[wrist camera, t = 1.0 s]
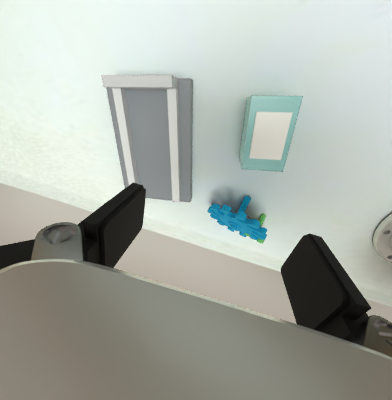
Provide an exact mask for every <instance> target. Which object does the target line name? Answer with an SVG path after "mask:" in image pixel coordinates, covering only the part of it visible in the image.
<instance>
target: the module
mask: <svg viewBox="0 0 392 400" xmlns="http://www.w3.org/2000/svg"><path fill="white" fill-rule="evenodd" d="M302 97H303V96H250V97H248V98H247V104H246V111H245V118H244V126H243V133H242V141H241V148H240V156H239V159H240V164H241V169H250V170H265V171H279V172H283V170H284V166H285V162H286V159H287V155H288V151H289V147H290V143H291V139H292V136H293V132H294V128H295V124H296V120H297V116H298V113H299V109H300V105H301V101H302Z"/></svg>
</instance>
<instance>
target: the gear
mask: <svg viewBox="0 0 392 400" xmlns="http://www.w3.org/2000/svg"><path fill="white" fill-rule="evenodd" d="M250 200H251V198H250V197H248V196H245V198H244V200H243V202H242V204H241V206H240V208H239V210H238V211H236V212H235V213H232V212H230V211H231V209H232V208H231V207H229V206H227V205H223V207H222V208H221V209H220V206H219V205H218V204H212V206H210V207H209V209H208V212H209V213H211V215H210V216H211V217H212V218H214V219H217V220H218V221H217V222H218V223H219V224H221V225H226V226H228V229H229V230H231V231H233V232H234V230H236V231H240V233H239V234H240V235H242V236H244V237H246V236H249V237H250V238H252V239H255V240H257V241H258V242H260V243H263V242H264V240H265V238H266V236H267V235H266V232H267V229H265V228H263V227H261V226H262V224H263V221H264V219H265V217H266V216H265V215H263V214H262V215H261V217H260V219H259V221H258V220H256V219H250V218H249V217H248V216H247V214H246V213H244V212H245V210H246V208H247V206H248V204H249V202H250Z"/></svg>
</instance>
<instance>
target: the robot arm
mask: <svg viewBox="0 0 392 400" xmlns="http://www.w3.org/2000/svg"><path fill="white" fill-rule="evenodd" d="M145 196H146V189H145V188H144V187H143V185H140V184H137V183H132V184H130V185H129V186H128V187H126V188H125V189H124V190H122V191H121V192H120V193H119V194H117V195H116V196H115V197H113V198H112V199H111V200H109V201H108V202H106V203H105V204H104V205H102V206H101V207H100V208H99V209H97V210H96V211H95V212H93V213H92V214H91V215H90V216H88V217H87V218H86V219H84V220H83V221H82V222H81V223H79V224H78V225H76V224H73V223H69V222H61V223H55V224H52V225H49V226H46V227H45V228H43V229H41V230H40V231H39V232H38V233H37V236H36V238H35V239H34V240H29V241H24V242H18V243H13V244H8V245H3V246H0V400H392V323H391V322H389V321H388V320H386V319H384V318H382V317H380V316H376V315H372V316H369V317H368V315H367V314H366V312H367V311H368V310H370V309H371V307H370V306H369V304H368V303H367V301H366V300H365V298H364V297H363V296H362V294H361V293H360V291H359V290H358V288H357V287H356V286H355V284H354V283H353V281H352V280H351V279H350V277H349V276H348V274H347V273H346V271H345V270H344V269H343V267H342V266H341V264H340V263H339V261H338V260H337V259H336V257H335V256H334V254H333V253H332V252H331V250H330V249H329V247H328V246H327V244H326V243H325V242H324V240H323V239H322V238H321V237H319V236H316V235H313V234H307V235H304V236H303V237H302V238H301V240H300V241H299V243H298V244H297V246H296V247H295V248H294V250H293V251H292V253H291V254H290V255H289V257H288V258H287V260H286V261H285V263H284V264H283V265H282V267H281V274H282V277H283V281H284V284H285V287H286V290H287V293H288V296H289V300H290V303H291V306H292V309H293V313H294V316H295V319H296V323H297V324H294V323H291V322H288V321H284V320H281V319H278V318H275V317H272V316H269V315H265V314H262V313H259V312H256V311H253V310H249V309H246V308H243V307H240V306H236V305H234V304H230V303H227V302H224V301H221V300H218V299H214V298H211V297H208V296H205V295H201V294H198V293H195V292H192V291H188V290H185V289H182V288H178V287H175V286H172V285H168V284H165V283H162V282H158V281H155V280H152V279H149V278H146V277H142V276H139V275H135V274H132V273H128V272H125V271H121V270H118V269H114V268H113V267H114V266H115V265H116V263H117V262H118V261H119V259H120V258H121V256H122V255H123V254H124V252H125V251H126V250H127V248H128V246H129V245H130V244H131V243H132V241H133V240H134V239H135V237H136V236H137V234H138V233H139V232H140V230H141V228H142V225H143V216H144V206H145ZM373 244H374V247H375V249H376V251H377V252H378V253H379V254H380V255H381V256H382V257H383V258H384V259H386V260H388V261H390V262H392V214H390V215H389V216H388V217H386V218H385V219H384V220H383V221H382V222H381V223H380V225H379V226H378V228H377V229H376V231H375V234H374V237H373Z"/></svg>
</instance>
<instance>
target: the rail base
mask: <svg viewBox="0 0 392 400" xmlns="http://www.w3.org/2000/svg"><path fill="white" fill-rule="evenodd" d="M101 76H102V81H103V86H104V87H106V88H107V94H108V99H109V104H110V110H111V115H112V121H113V126H114V131H115V137H116V142H117V148H118V153H119V158H120V164H121V169H122V175H123V180H124V186H125V188H126V187H128V186H129V185H130V184H132V183H137V184H140V185H143V187H144V188H145V189H146V196H145V198H152V199H162V200H172V201H173V202H180V201H182V202H190V201H191V199H192V95H193V80H192V79H178V78H176V77H174V76H173V75H101Z"/></svg>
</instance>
